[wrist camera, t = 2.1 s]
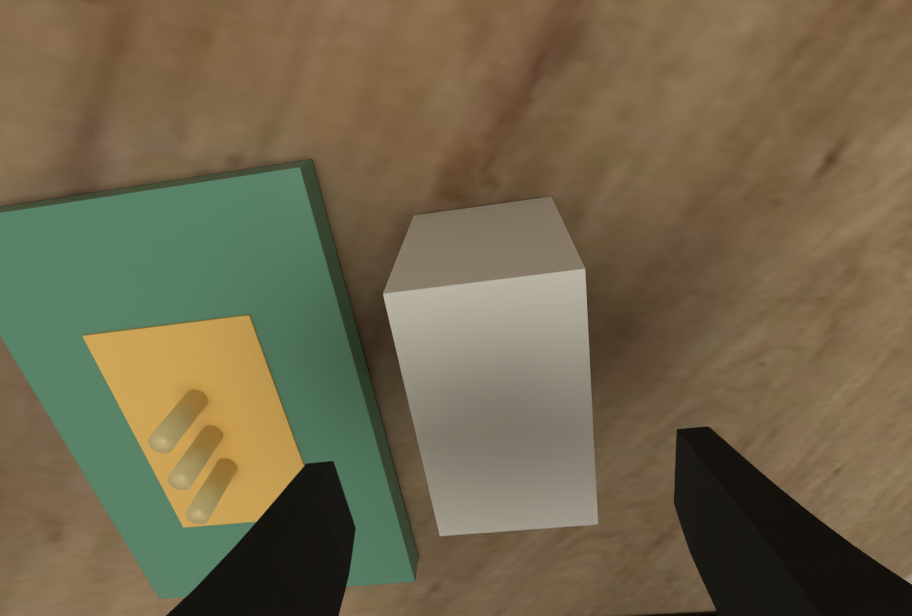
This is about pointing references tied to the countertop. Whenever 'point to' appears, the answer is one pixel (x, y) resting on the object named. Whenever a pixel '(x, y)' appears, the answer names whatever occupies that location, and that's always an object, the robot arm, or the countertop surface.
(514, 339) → the block
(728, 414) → the countertop surface
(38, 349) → the header board
